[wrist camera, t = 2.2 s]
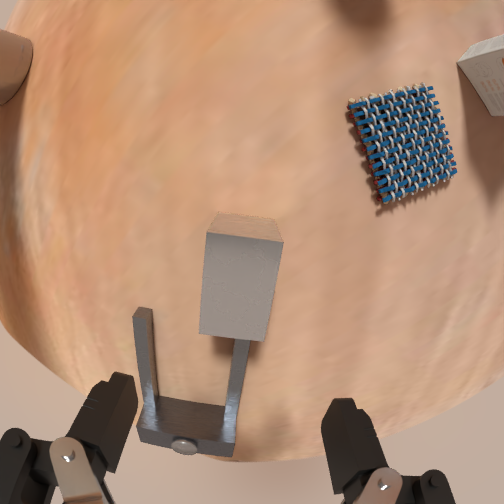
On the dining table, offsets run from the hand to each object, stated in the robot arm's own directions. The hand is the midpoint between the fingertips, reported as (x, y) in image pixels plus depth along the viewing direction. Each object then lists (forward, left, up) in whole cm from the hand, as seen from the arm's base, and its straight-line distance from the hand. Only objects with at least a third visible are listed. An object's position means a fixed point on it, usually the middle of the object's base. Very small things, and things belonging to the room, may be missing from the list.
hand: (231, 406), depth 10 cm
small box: (+25, +26, -17) cm, 40 cm away
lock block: (0, 0, -17) cm, 17 cm away
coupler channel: (-4, -16, -17) cm, 24 cm away
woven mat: (+14, +14, -18) cm, 27 cm away
